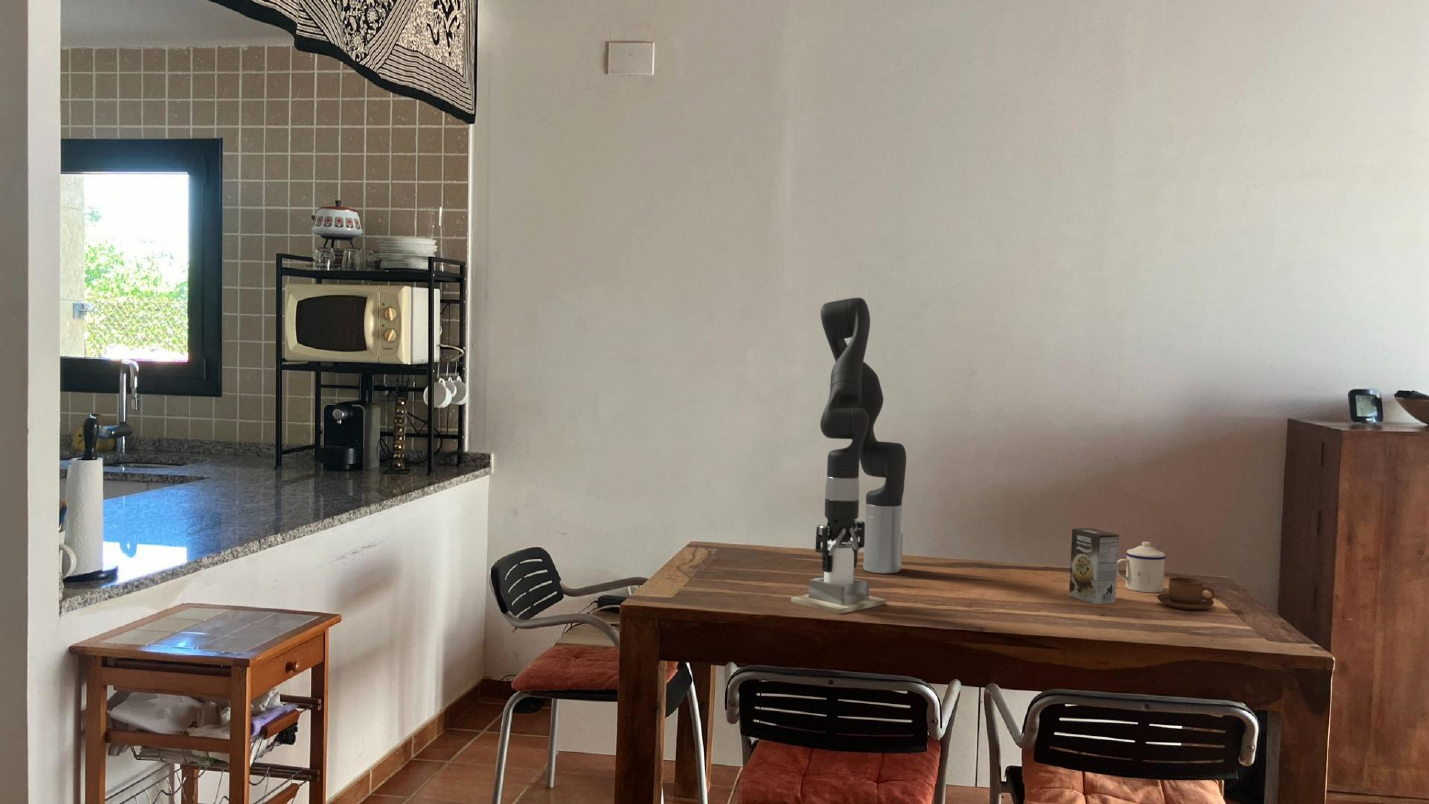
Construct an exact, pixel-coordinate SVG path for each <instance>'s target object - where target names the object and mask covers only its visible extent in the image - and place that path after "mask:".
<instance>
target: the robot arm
mask: <svg viewBox="0 0 1429 804" xmlns="http://www.w3.org/2000/svg"><path fill="white" fill-rule="evenodd" d="M870 315H871V314H870V310H869V307H868V304H867V302H866V300H865V299H864V298H862V297H852V298H851V297H850V298H846V299H845V298H844V299H840V300H838V299H837V300H835V301H828V302H826V303H824V304H822V306H821V309H820V318H821V319H820V320H821V324H822V328H823V331H824V335H825V337H826V339H827V343H828V345H829V347H830V350H831V353H832V356H833V359H834V361H835V363H834V365H833V368H832V370H831V373H830V382H829V383H830V388H829V395H828V400H827V404H826V405H825V408H824V410H823V412H822V416H821V418H820V423H819V425H820V426H819V427H820V430H821V433H822V435H824V437H826V438H828V439H833V440H834V439H835V440H851V442H850V444H849V445H847V447H843V448H839V449H838V448H837V449H833V450H831V451H829V452H828V454H827V462H826V463H827V467H826V471H827V472H826V482H825V493H824V517H825V518H826V520H827V522H826V525H820V524H819V525H816V532H815V552H816V553H819V554H821V556H822V558H821V561H822V563H821V564H822V565H821V569H822V571H823V573H824V572H828V573H830V572H832V565H833V556H831V555H832V554H833V552H834V550H835V548H836V547H838V545H839V543H844V544H850V545H852V549H853V552H854V569H856V568H857V564H858V554H859V553H858V552H859V551H860V549H863V570H864V571H867V572H870V573H876V574H895V573H898V572H900V571H901V570H902V568H903V567H902V564H903V533H902V507H903V505H902V504H903V497H904V493H905V482H906V481H905V480H906V479H905V478H906V469H907V452H906V449H905V446H904V445H903V444H902V443H899V442H892V441H891V442H890V441H878V440H877V439H876V435H875V429H874V427H875V424H876V421H877V418H878V417H879V415H880V412H881V410H882V408H883V405H884V394H883V390H882V386H881V383H880V379H879V376H878V374H877V373H876V371H874V369H873V368H871V366H870V365H868V363H866V362H865V360H864V359H865V355H866V351H867V347H868V341H869V334H870V327H871V316H870ZM850 338H851V339H850ZM845 339H850V341H849V343H848V342H846V340H845ZM860 465H861V466H860ZM860 467H861V469H862V471H863V472H864V474H865V475H867V476H870V477H875V478H884V479H885V482H884V484H883V486H881V487H880V488H876V489H873V490H869V491H868V492H866V495H865V510H864V511H865V512H864V521H860V520H857V519H858V518H859V510H860V509H859V508H860V481H859V480H860V478H859V477H860ZM829 546H830V548H829V550H828V547H829Z"/></svg>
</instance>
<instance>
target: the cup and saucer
mask: <svg viewBox="0 0 1429 804" xmlns="http://www.w3.org/2000/svg"><path fill="white" fill-rule="evenodd" d="M1204 584H1205V583H1204V581H1202V580H1200V579H1195V578H1191V577H1178V576H1177V577H1169V579H1168V592H1166V593H1160V594H1158V595H1156V597H1157V599H1158V601H1159V602H1160V603H1162V604H1163V605H1166V606H1169V607H1172V608H1174V609H1175V608H1176V609H1179V610H1181V609H1182V610H1191V611H1194V610H1195V611H1197V610H1206V609H1210V608H1211V607H1212V606H1213V605H1214V603H1215V601H1214V599H1215V597H1216V592H1215V590H1214V589H1213V588H1212V587H1210V586H1204ZM1204 591H1210V592H1211V596H1210V597H1207V596H1205V594H1204Z"/></svg>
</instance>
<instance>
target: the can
mask: <svg viewBox="0 0 1429 804" xmlns="http://www.w3.org/2000/svg"><path fill="white" fill-rule="evenodd" d="M829 548H830V546H829V547H828V550H829ZM831 556H833V565H832V572H830V573H828V572H824V571H823V577H824V582H827V583H831V584H835V585H840V586H843V585H848V584H853V578H854V573H855V571H854V570H855V568H854V552H853V549H852V545H850V544H845V543H844V542H843V543H839V545H838V547H836V548H835V550H834V552H833V554H832V555H831Z"/></svg>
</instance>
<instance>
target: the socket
mask: <svg viewBox="0 0 1429 804" xmlns="http://www.w3.org/2000/svg"><path fill="white" fill-rule="evenodd" d="M790 603H793V604H797V605H802V606H806V607H808V608H809V607H810V608H814V609H817V610H820V611H821V610H822V611H825V612H829V613H833V614H837V615H841V614H845V613H851V612H854V611H855V612H857V611H859V610H865V609H868V608H873V607H878V606H882V605H886V603H887V599H884V598H881V597H875V596H873V595H872V596H871V595H870V581H866V580H862V579H858V578H854V577H853V584H848V585H843V586H840V585H835V584H831V583H827V582H824V576H822V577H818V578H817V577H816V578H812V579H811V578H810V579H809V580H808V594H802V595H798V596H792V597H790Z"/></svg>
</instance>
